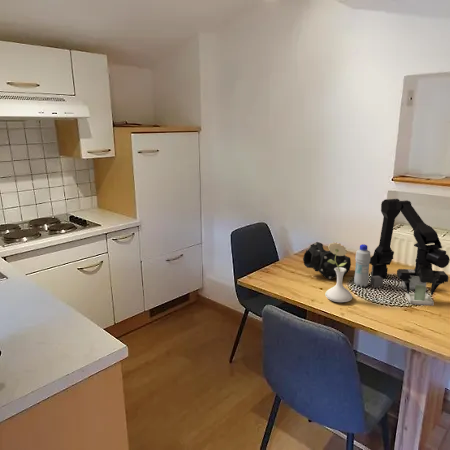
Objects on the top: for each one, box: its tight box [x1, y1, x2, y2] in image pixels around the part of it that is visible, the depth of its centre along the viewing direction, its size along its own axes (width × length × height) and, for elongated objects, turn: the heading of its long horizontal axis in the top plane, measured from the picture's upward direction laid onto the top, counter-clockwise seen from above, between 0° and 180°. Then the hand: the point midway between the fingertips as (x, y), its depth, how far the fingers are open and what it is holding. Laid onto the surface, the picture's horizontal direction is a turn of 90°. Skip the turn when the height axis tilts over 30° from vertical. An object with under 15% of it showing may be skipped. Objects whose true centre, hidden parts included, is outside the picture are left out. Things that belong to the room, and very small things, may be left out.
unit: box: [401, 268, 428, 292], centre depth 177 cm, size 10×6×8 cm, turn 79°
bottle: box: [353, 243, 372, 288], centre depth 180 cm, size 7×7×20 cm
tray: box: [405, 292, 435, 307], centre depth 166 cm, size 9×8×2 cm
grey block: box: [369, 275, 384, 288], centre depth 182 cm, size 4×4×4 cm
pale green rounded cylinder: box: [414, 285, 427, 301], centre depth 165 cm, size 4×4×6 cm
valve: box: [302, 241, 352, 280], centre depth 200 cm, size 22×15×30 cm
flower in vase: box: [324, 241, 353, 303], centre depth 166 cm, size 13×11×25 cm
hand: (419, 294), depth 165 cm, fingers open, 9 cm apart
